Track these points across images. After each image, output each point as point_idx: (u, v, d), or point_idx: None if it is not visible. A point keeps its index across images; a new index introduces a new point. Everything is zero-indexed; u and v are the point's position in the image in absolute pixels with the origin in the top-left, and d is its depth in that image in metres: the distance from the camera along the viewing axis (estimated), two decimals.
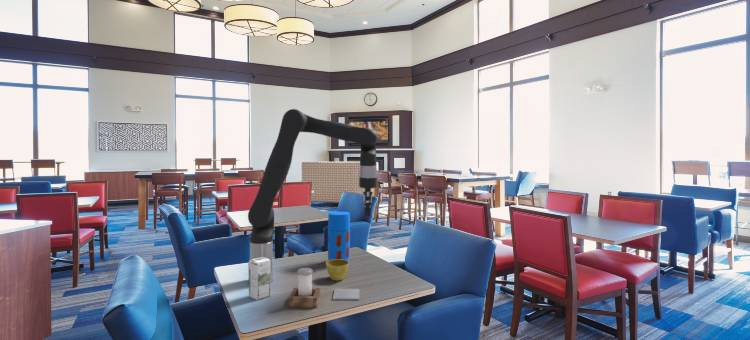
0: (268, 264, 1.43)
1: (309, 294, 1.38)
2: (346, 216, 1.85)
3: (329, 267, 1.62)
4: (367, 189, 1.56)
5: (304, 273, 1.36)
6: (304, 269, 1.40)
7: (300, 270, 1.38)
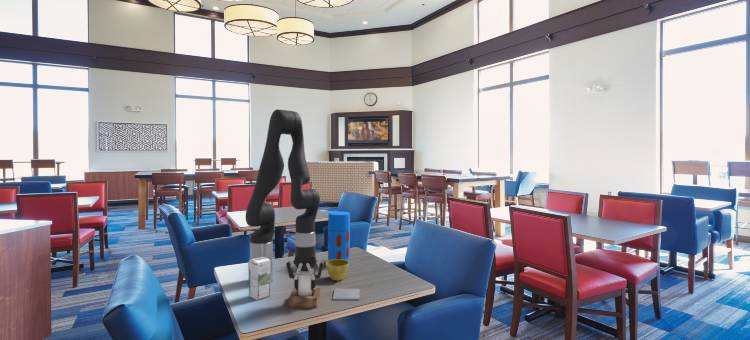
0: (268, 264, 1.43)
1: (309, 294, 1.38)
2: (346, 216, 1.85)
3: (329, 267, 1.62)
4: (315, 257, 1.39)
5: (304, 273, 1.36)
6: None
7: None
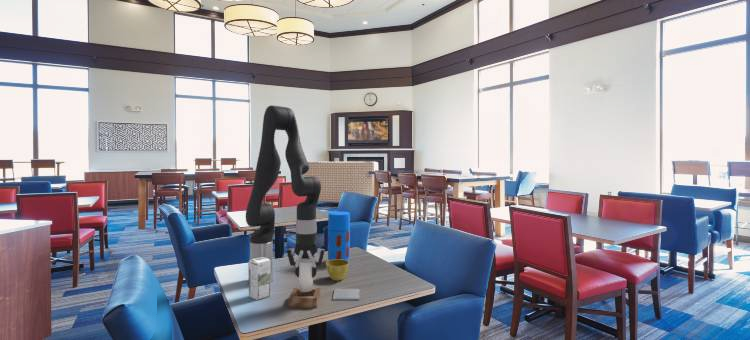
0: (268, 264, 1.43)
1: (310, 281, 1.38)
2: (346, 216, 1.85)
3: (329, 267, 1.62)
4: (316, 245, 1.38)
5: (305, 260, 1.36)
6: None
7: None
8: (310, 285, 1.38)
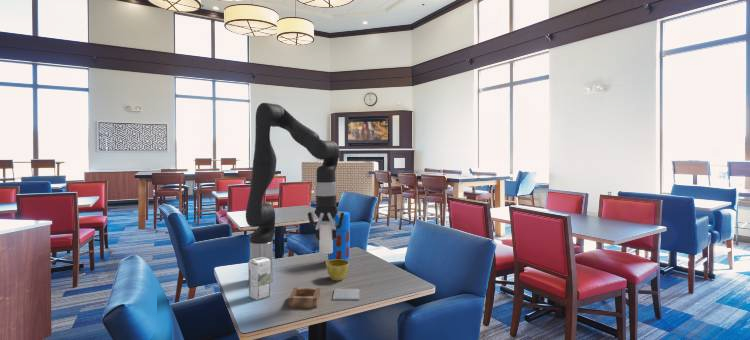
0: (268, 264, 1.43)
1: (330, 244, 1.40)
2: (346, 216, 1.85)
3: (329, 267, 1.62)
4: (336, 208, 1.41)
5: (325, 222, 1.38)
6: None
7: None
8: (330, 247, 1.40)
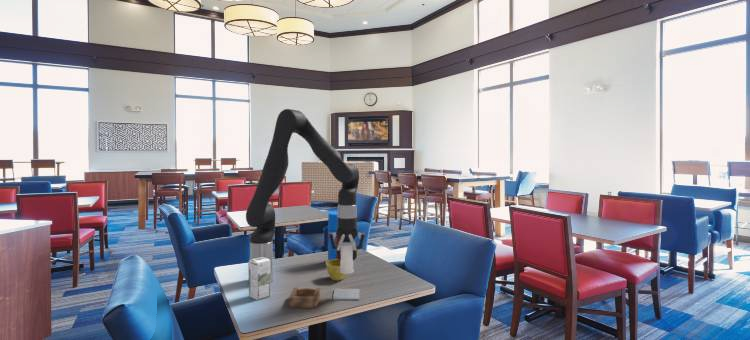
0: (268, 264, 1.43)
1: (351, 264, 1.45)
2: None
3: (329, 267, 1.62)
4: (356, 229, 1.46)
5: (347, 244, 1.43)
6: None
7: None
8: (351, 267, 1.45)
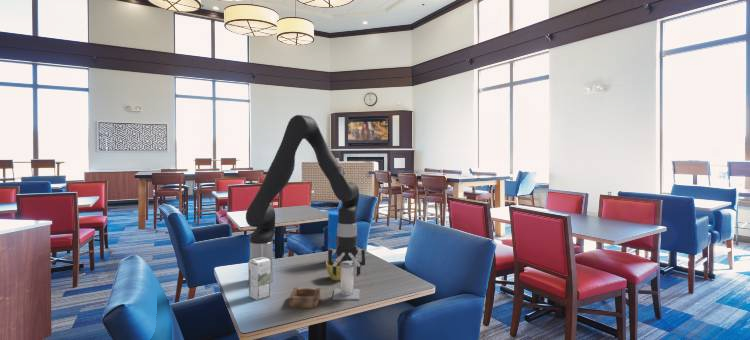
0: (268, 264, 1.43)
1: (351, 286, 1.45)
2: None
3: (329, 267, 1.62)
4: (356, 247, 1.46)
5: (347, 266, 1.44)
6: (346, 262, 1.47)
7: (343, 263, 1.46)
8: (351, 289, 1.45)
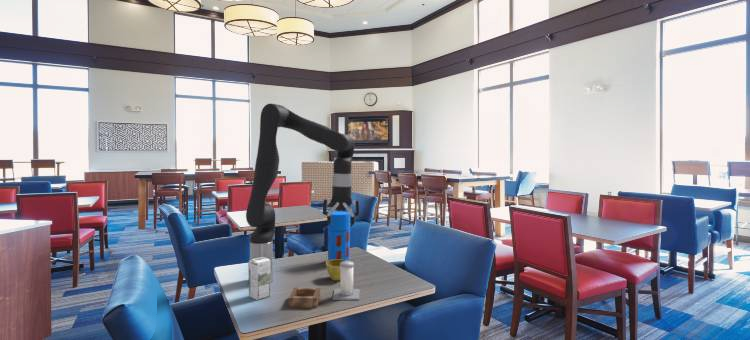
0: (268, 264, 1.43)
1: (351, 285, 1.45)
2: (346, 216, 1.85)
3: (329, 267, 1.62)
4: None
5: (347, 265, 1.44)
6: (346, 262, 1.47)
7: (342, 263, 1.46)
8: (351, 289, 1.45)
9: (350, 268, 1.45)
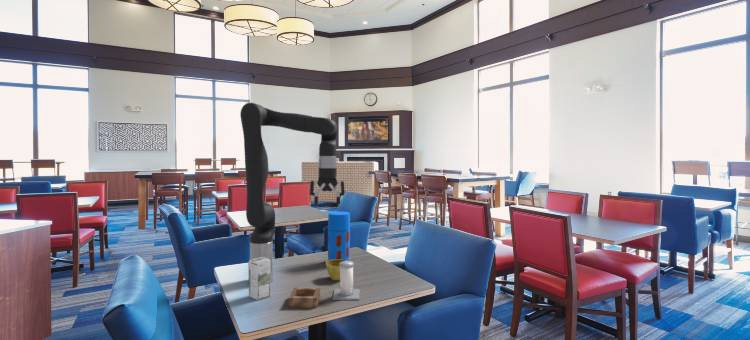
0: (268, 264, 1.43)
1: (351, 285, 1.45)
2: (346, 216, 1.85)
3: (329, 267, 1.62)
4: (336, 179, 1.57)
5: (346, 266, 1.44)
6: (345, 262, 1.47)
7: (342, 263, 1.46)
8: (351, 289, 1.45)
9: (350, 268, 1.44)
